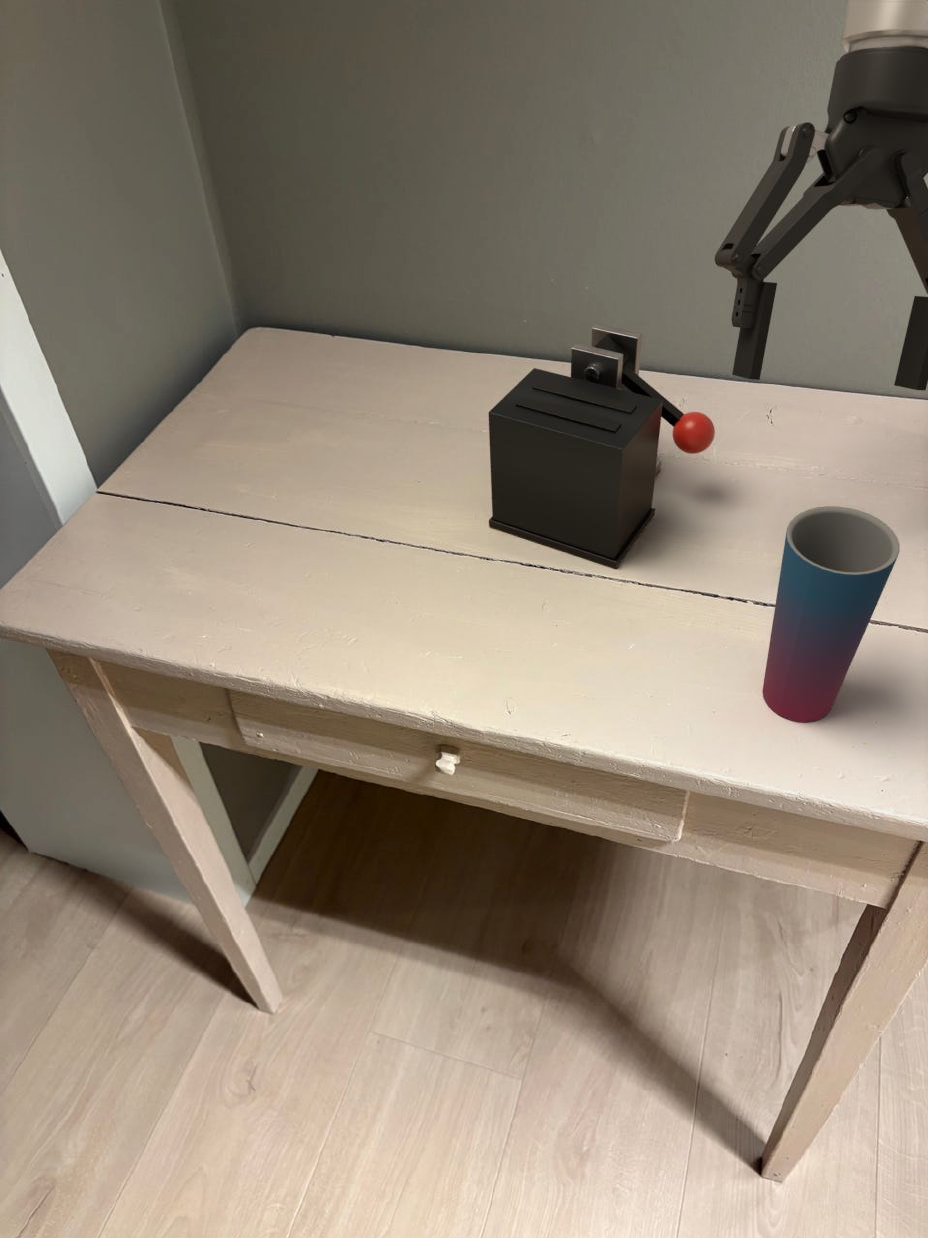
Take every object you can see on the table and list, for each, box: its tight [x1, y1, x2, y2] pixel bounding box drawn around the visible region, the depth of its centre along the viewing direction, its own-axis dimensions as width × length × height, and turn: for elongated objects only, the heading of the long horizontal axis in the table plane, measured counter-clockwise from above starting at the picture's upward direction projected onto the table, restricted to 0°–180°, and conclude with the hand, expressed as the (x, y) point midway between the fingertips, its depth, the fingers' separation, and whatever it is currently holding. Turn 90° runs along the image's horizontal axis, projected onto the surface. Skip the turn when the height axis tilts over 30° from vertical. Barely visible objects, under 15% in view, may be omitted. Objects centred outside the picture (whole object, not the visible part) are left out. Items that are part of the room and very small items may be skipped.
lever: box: [594, 335, 716, 455], centre depth 84 cm, size 13×4×4 cm
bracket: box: [570, 323, 662, 477], centre depth 87 cm, size 10×6×14 cm, turn 59°
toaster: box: [487, 367, 663, 570], centre depth 83 cm, size 13×8×12 cm
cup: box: [761, 505, 901, 723], centre depth 66 cm, size 7×7×15 cm
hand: (829, 383), depth 71 cm, fingers open, 13 cm apart
